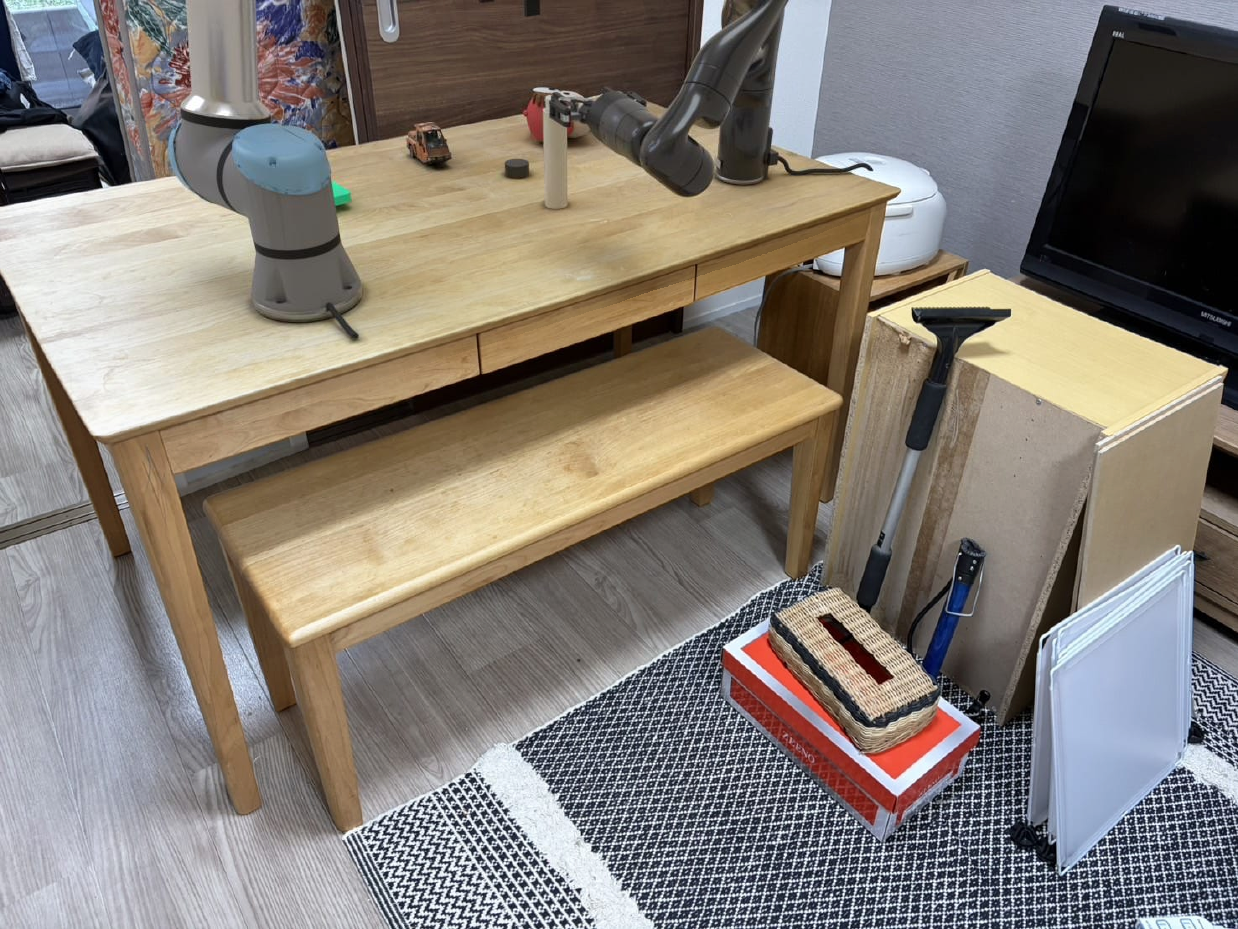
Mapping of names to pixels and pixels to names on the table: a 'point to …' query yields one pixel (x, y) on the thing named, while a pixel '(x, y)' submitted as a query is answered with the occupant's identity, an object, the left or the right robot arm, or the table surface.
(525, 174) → the lid
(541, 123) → the toy
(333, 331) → the table surface
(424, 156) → the toy car
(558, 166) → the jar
